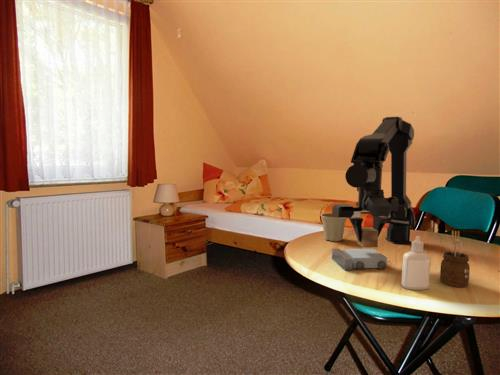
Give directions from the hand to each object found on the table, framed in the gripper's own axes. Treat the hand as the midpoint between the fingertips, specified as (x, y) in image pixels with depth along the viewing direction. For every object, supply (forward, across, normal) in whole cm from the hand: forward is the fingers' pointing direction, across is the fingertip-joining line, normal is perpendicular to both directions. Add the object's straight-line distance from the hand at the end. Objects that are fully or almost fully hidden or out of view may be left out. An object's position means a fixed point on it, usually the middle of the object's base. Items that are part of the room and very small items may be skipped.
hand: (367, 241), depth 96 cm
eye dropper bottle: (+6, +4, -17) cm, 19 cm away
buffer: (+6, -7, 0) cm, 9 cm away
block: (+1, 0, 0) cm, 1 cm away
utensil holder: (+6, +15, -15) cm, 22 cm away
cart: (+6, -1, 0) cm, 6 cm away
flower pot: (+7, 0, +27) cm, 28 cm away
